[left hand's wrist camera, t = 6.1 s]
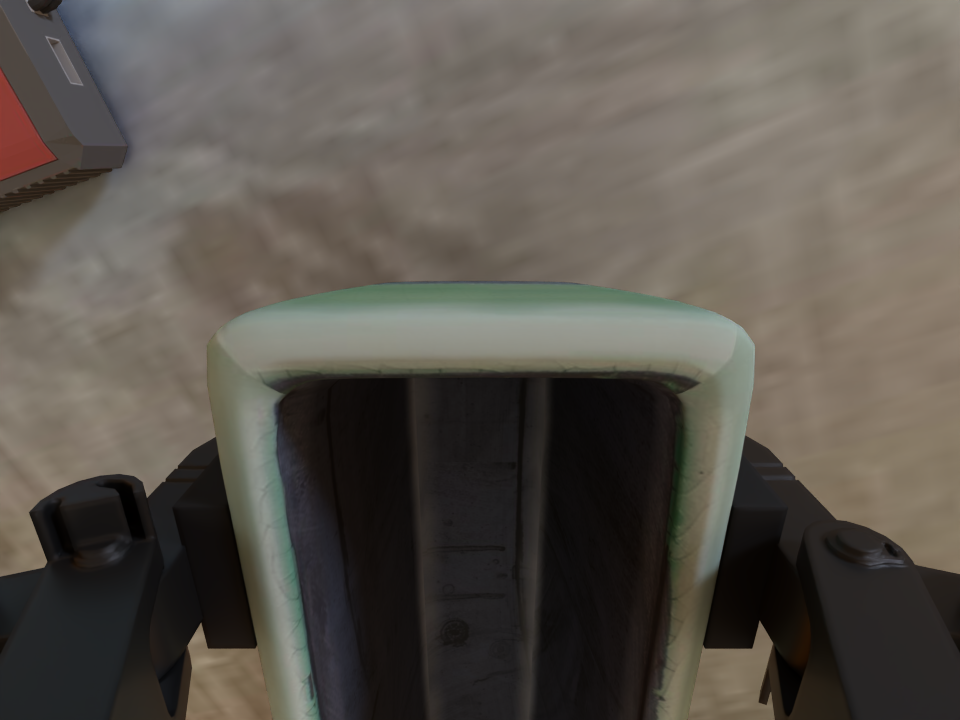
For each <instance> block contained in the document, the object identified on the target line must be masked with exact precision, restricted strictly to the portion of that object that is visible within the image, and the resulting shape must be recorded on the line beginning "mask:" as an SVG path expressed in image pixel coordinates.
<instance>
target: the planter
mask: <svg viewBox="0 0 960 720" xmlns="http://www.w3.org/2000/svg"><path fill="white" fill-rule="evenodd" d="M754 359H755V345H754V343H753V342H752V340H751V339H750V337H749V336H748V335H747V333H746V332H745V330H744V329H743V328H742V327H741V326H739V325H738V324H736V323H735V322H733V321H731V320H730V319H728V318H726V317H724V316H722V315H720V314H717V313H715V312H712V311H709V310H706V309H703V308H699V307H696V306H692V305H689V304H686V303H682V302H679V301H674V300H669V299H665V298H660V297H655V296H650V295H645V294H640V293H634V292H628V291H623V290H617V289H611V288H604V287H598V286H591V285H585V284H577V283H567V282H520V281H436V282H391V283H382V284H375V285H368V286H362V287H355V288H349V289H343V290H337V291H332V292H326V293H320V294H315V295H310V296H305V297H301V298H296V299H291V300H286V301H282V302H279V303H275V304H272V305H268V306H265V307H262V308H259V309H256V310H253V311H250V312H246V313H244V314H242V315H240V316H238V317H236V318H234V319H232V320H231V321H229V322H228V323H226V324H224V325H223V326H221V327H220V328H219V329H218V331H217V332H216V333H215V334H214V336H213V337H212V338H211V340H210V341H209V343H208V344H207V386H208V392H209V398H210V404H211V410H212V416H213V422H214V428H215V434H216V440H217V446H218V452H219V458H220V464H221V469H222V474H223V479H224V484H225V489H226V494H227V499H228V504H229V509H230V514H231V519H232V524H233V529H234V534H235V539H236V543H237V548H238V553H239V558H240V563H241V568H242V573H243V578H244V583H245V588H246V593H247V598H248V603H249V608H250V612H251V617H252V622H253V627H254V631H255V636H256V641H257V646H258V651H259V655H260V660H261V665H262V670H263V675H264V679H265V684H266V689H267V694H268V699H269V703H270V708H271V713H272V718H273V720H687V718H688V714H689V709H690V704H691V699H692V695H693V690H694V685H695V680H696V676H697V671H698V666H699V661H700V657H701V652H702V647H703V642H704V637H705V633H706V628H707V623H708V618H709V614H710V609H711V604H712V599H713V595H714V590H715V585H716V580H717V575H718V570H719V565H720V560H721V555H722V550H723V546H724V541H725V536H726V531H727V526H728V521H729V516H730V511H731V506H732V501H733V496H734V492H735V487H736V482H737V477H738V472H739V467H740V461H741V455H742V450H743V444H744V438H745V432H746V426H747V420H748V415H749V409H750V403H751V397H752V391H753V385H754Z"/></svg>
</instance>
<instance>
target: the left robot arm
mask: <svg viewBox="0 0 960 720" xmlns="http://www.w3.org/2000/svg"><path fill="white" fill-rule="evenodd" d="M29 514H30V516H31V519H32V522H33V524H34V527H35V530H36V532H37V535H38V537H39V540H40V543H41V545H42V548H43V551H44V553H45V556H46V559H47V561H48V562H47V564H46V566H45V567H44V568H40V569H36V570H31V571H26V572H21V573H16V574H12V575H7V576H2V577H0V720H185V718H186V710H187V702H188V694H189V687H190V679H191V671H192V665H191V658H190V654H189V650H188V647H187V645H188V643H189V642H190V640H191V638H192V637H193V635H194V633H195V632H196V630H197V628H198V627H199V625H200V623H202V627H203V631H204V635H205V639H206V642H207V646H208V648H256V646H257V641H256V636H255V631H254V627H253V622H252V617H251V612H250V608H249V603H248V598H247V593H246V588H245V583H244V578H243V573H242V568H241V563H240V558H239V553H238V548H237V543H236V539H235V534H234V529H233V524H232V519H231V514H230V509H229V504H228V499H227V494H226V489H225V484H224V479H223V474H222V469H221V464H220V458H219V452H218V446H217V440H216V437H215V438H213V439H211V440H210V441H208V442H206V443H205V444H203V445H201V446H199V447H198V448H196V449H194V450H193V451H192V452H191V453H190V454H189V455H188V456H187V457H186V458H185V459H184V460H183V461H182V462H181V463H180V464H179V465H178V469H174V471H173V472H172V473H171V474H170V475H169V476H168V477H167V478H166V481H165V482H162V483H161V484H160V485H159V486H158V487H157V488H156V489H155V490H154V492H153V493H152V494H151V495H150V496H149V497H148V498H147V497H146V493H145V490H144V486H143V482H142V481H140V480H139V479H137V478H136V477H134V476H129V475H122V474H115V475H104V476H97V477H94V478H90V479H86V480H82V481H78V482H76V483H73V484H71V485H69V486H66V487H64V488H61V489H59V490H57V491H55V492H54V493H52V494H50V495H49V496H47V497H46V498H44V499H42V500H41V501H40V502H39V503H38V504H37V505H36V506H35V507H34V508H33V509H32V510H31V511H30V512H29ZM759 620H760V621H761V623H762V625H763V627H764V628H765V630H766V632H767V633H768V635H769V637H770V638H771V640H772V642H773V647H772V650H771V654H770V657H769V661H768V665H767V668H766V672H765V676H764V679H763V683H762V687H761V690H760V697H759V703H762V704H765V705H767V702H768V698H769V695H770V692H771V693H772V701H773V708H774V716H775V720H960V574H956V573H951V572H946V571H941V570H937V569H932V568H927V567H922V566H918V565H914V563H913V561H912V560H911V558H910V557H909V556H908V555H907V554H906V552H905V551H904V550H903V549H902V548H901V547H900V546H898V545H897V544H896V543H894V542H893V541H891V540H890V539H889V538H887V537H886V536H884V535H882V534H880V533H878V532H876V531H873V530H871V529H869V528H867V527H864V526H861V525H858V524H854V523H851V522H847V521H840V520H836V519H835V518H834V517H833V516H832V515H831V514H830V513H829V511H828V510H827V509H826V508H825V507H824V506H823V505H822V504H821V503H820V502H819V501H818V500H817V499H816V498H815V497H814V496H813V495H812V494H811V493H810V492H809V491H808V490H807V489H806V488H805V487H804V485H803V484H802V483H801V482H800V481H799V480H795V476H794V475H793V474H792V473H791V472H790V471H789V470H788V469H787V468H786V467H783V464H782V463H781V462H780V461H779V459H778V458H777V457H776V456H775V455H774V454H773V453H772V452H771V451H770V450H769V449H768V448H766V447H764V446H763V445H761V444H759V443H757V442H756V441H754V440H752V439H751V438H749V437H747V436H745V438H744V444H743V450H742V455H741V461H740V467H739V472H738V477H737V482H736V487H735V492H734V496H733V501H732V506H731V511H730V516H729V521H728V526H727V531H726V536H725V541H724V546H723V550H722V555H721V560H720V565H719V570H718V575H717V580H716V585H715V590H714V595H713V599H712V604H711V609H710V614H709V618H708V623H707V628H706V633H705V637H704V642H703V645H704V647H705V649H752V648H753V644H754V640H755V636H756V632H757V628H758V624H759Z"/></svg>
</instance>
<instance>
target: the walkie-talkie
mask: <svg viewBox="0 0 960 720" xmlns="http://www.w3.org/2000/svg"><path fill="white" fill-rule="evenodd" d="M61 2H62V0H0V211H6V210H9V207H16V206H19V205H20V203H26V202H30V201H31V200H32V199H35V198H41V197H43V195H44V194H52V193H54V190H62V189H65V188H66V186H71V185H76V184H77V182H78V181H87V180H89V177H97V176H100V173H106V172H111V171H112V168H121V167H122V164H123V161H124V157H125V154H126V150H127V147H128V146H127V144H126V142H125V140H124V138H123V136H122V134H121V132H120V131H119V129H118V127H117V125H116V123H115V121H114V119H113V117H112V115H111V113H110V111H109V109H108V108H107V106H106V104H105V102H104V100H103V98H102V96H101V94H100V92H99V90H98V88H97V86H96V85H95V83H94V81H93V79H92V77H91V75H90V73H89V71H88V69H87V67H86V65H85V63H84V62H83V60H82V58H81V56H80V54H79V52H78V50H77V48H76V46H75V44H74V42H73V40H72V39H71V37H70V35H69V33H68V31H67V29H66V27H65V25H64V23H63V21H62V19H61V17H60V16H59V14H58V12H57V10H56V8H57V7H58V6H59V5H60V3H61Z"/></svg>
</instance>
